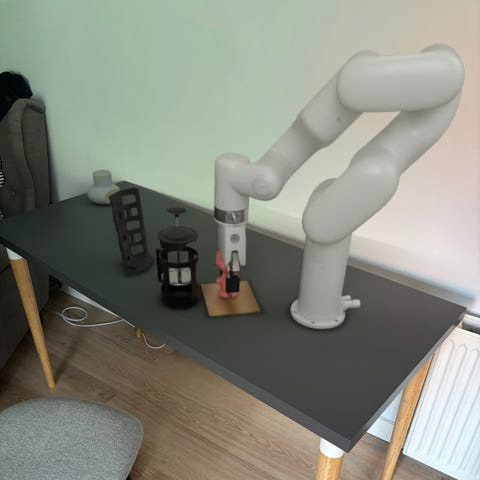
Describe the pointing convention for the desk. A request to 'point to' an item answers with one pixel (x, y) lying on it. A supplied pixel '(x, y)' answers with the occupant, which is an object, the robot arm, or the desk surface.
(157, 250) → the french press
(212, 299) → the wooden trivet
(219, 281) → the cat figurine
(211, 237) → the desk surface
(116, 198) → the holder
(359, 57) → the robot arm
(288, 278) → the desk surface
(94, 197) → the air freshener
